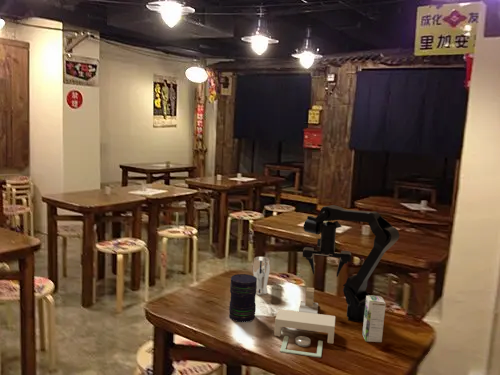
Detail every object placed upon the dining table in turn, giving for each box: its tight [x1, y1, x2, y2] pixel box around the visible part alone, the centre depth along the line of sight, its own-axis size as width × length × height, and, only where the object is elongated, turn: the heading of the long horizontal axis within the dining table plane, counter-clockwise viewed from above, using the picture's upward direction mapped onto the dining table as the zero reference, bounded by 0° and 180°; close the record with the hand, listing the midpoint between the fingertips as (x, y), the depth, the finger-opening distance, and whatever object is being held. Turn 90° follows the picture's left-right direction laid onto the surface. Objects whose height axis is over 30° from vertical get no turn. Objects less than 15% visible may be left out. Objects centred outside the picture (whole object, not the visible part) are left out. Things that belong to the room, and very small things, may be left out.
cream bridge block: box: [273, 308, 336, 344], centre depth 166 cm, size 20×9×6 cm, turn 79°
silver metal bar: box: [298, 287, 319, 331], centre depth 180 cm, size 24×7×8 cm, turn 170°
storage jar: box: [228, 273, 257, 323], centre depth 177 cm, size 10×10×15 cm
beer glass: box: [252, 256, 271, 296], centre depth 203 cm, size 7×7×15 cm
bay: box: [279, 335, 324, 359], centre depth 156 cm, size 13×11×1 cm
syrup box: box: [362, 295, 387, 343], centre depth 164 cm, size 6×6×14 cm
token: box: [294, 335, 311, 348], centre depth 159 cm, size 5×5×2 cm
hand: (325, 275), depth 190 cm, fingers open, 9 cm apart
